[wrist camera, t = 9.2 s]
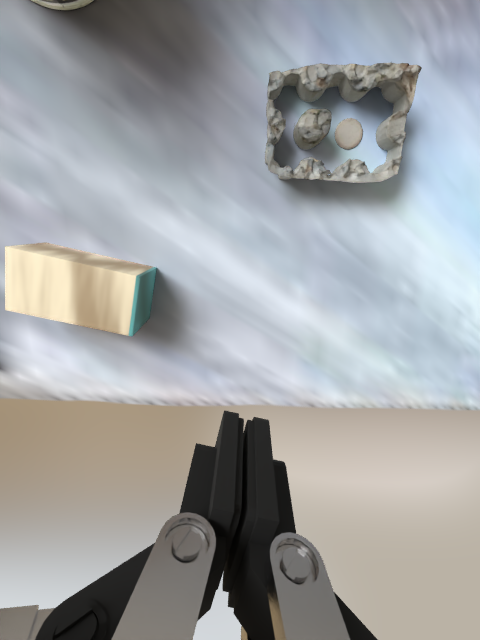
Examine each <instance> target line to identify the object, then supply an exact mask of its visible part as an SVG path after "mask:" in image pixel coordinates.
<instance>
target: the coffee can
mask: <svg viewBox="0 0 480 640" xmlns="http://www.w3.org/2000/svg"><path fill="white" fill-rule="evenodd" d="M31 1H33V2H35V3H38V4H40V5H42V6H45V7H48V8H51V9H57V10H72V9H77V8H81V7H84V6H85V5H88V4H89V3H91V2H92V1H94V0H31Z"/></svg>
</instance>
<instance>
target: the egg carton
mask: <svg viewBox="0 0 480 640" xmlns="http://www.w3.org/2000/svg"><path fill="white" fill-rule="evenodd" d="M420 70H421V67H420V66H418V65H409V64H408V63H401V64H395V63H377V64H374V65H372V66H364V65H357V64H348V65H328V64H316V65H311V66H305V67H301V68H298V69H292V70H288V71H285V72H282V73H281V72H280V71H273V72H271V73H269V75H270V78H269V84H268V92H267V96H268V102H267V107H266V116H267V119H268V127H267V138H268V141H267V143H266V151H265V163H266V164H268V169H269V171H270V172H272V173H275V174H278V177H279V179H291V178H297V179H303V178H305V179H308V180H312V179H320V180H327V181H343V182H352V183H365V182H381V181H384V180H386V179H388V178H390V177H392V176H394V175H396V174H398V170H399V165H400V162H401V158H402V156H401V152H402V146H403V142H404V140H405V137H406V132H404V128H405V122H406V116H407V113H408V112H409V110H410V108H411V105H412V102H413V99H414V94H415V89H416V83H417V79H418V74H419V73H420ZM290 85H291V86H295V87H296V91H297V94H298V96H299V97H300V98H301V100H303V101H305V102H313V101H316V100H317V99H319V98H320V97H321V95H322V94H323V93H324V91H325V90H326V88H330V87H335V86H338V90H339V93H340V95H341V97H342V98H343V99H344V100H345V101H347V102H356V101H358V100H360V99H361V98H362V97H363V96H364V95H365V94H366V93H367V92H368V91H369V90H371V89H372V88H374V87H379V88H381V92H382V95H383V97H384V99H385V100H387V101H388V102H390V103H393V104H394V106H393V113H392V115H391V116H390V117H389V118H387V119H386V120H384V121H383V122H382V123H381V124H380V125H379V126H378V128H377V131H376V141H377V144H378V146H379V147H380V148H382V149H383V150H387V157H386V162H385V163H384V164H383V165H380V166H378V167H377V168H376V169H375V170H374V171H373V173H370V172H369V171H368V169H367V166H366V165H365V162H362V161H360V160H357V159H355V160H350V159H349V160H348V161H347V162H345V163H344V164H342V165H340V166H339V167H337V168H336V169H335V171H334V172H333V173H331V172H330V170H326V169H325V167H324V163H323V162H322V161H320V160H316V159H314V158H312V157H308V158H305V159H303V160H301V162H300V163H299V165H298V166H297V167H296V168H295V170H294V171H293V170H292V168H290V166H285V167H284V168H281V167H280V166H279V164H278V163H277V162H276V161H275V160H274V159H273V157H274V152H275V148H274V146H275V145H276V144H277V143H278V141H279V140H280V138H281V136H282V133H283V131H284V129H285V123H286V119H283V118H282V116H281V112H280V110H278V109H275V107H274V101H273V100H275V99H276V98H277V97H278V96H279V94H280V93H281V90H282V88H283V86H290ZM331 118H332V117H331V112H330V111H329V110H328V109H325V108H324V109H309V110H307V111H306V112H305V113H304V114H303V115H302V116H301V117H300V119H299V120H298V122H297V124H296V126H295V125H294V126H295V129H294V132H293V137H294V141H295V143H296V144H297V146H298V147H299V148H301V149H304V150H309V149H312V148H314V147H315V146H316V145H318V144H319V143H320V142H321V141H322V140H323V139H324V137H325V136H326V135H327V134H328V132H329V129H330V124H331ZM362 135H363V129H362V127H361V124H360V123H359V122H358V121H357V120H356V119H352V118H349V119H348V118H347V119H344V120H343V121H342V122H340V123H339V125H338V126H337V128H336V130H335V140H336V142H337V144H338V145H339V146H340V147H341V148H343V149H352V148H354V147H355V146H357V145H358V144H359V142H360V141H361V139H362ZM328 174H331V175H328Z"/></svg>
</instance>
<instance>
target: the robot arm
mask: <svg viewBox="0 0 480 640" xmlns="http://www.w3.org/2000/svg"><path fill="white" fill-rule="evenodd" d="M243 426H244V420H243V419H242V418H239V414H238V413H233V412H228V411H224V414H223V417H222V421H221V425H220V429H219V433H218V437H217V441H216V445H215V447H211V446H206V445H201V444H197V443H196V446H195V450H194V455H193V459H192V463H191V467H190V471H189V476H188V480H187V484H186V488H185V492H184V497H183V501H182V505H181V509H180V513H179V514H177V515H175V516H173V517H172V518H170V519H169V520H168V521H167V522H166V523H165V525H164V526H163V528H162V529H161V531H160V533H159V535H158V538H157V540H156V542H155V543H154V544H152V545H151V546H149V547H148V548H146V549H145V550H143V551H142V552H140V553H138V554H137V555H136V556H134V557H132V558H131V559H129V560H128V561H126V562H124V563H123V564H121V565H120V566H118V567H116V568H115V569H113V570H112V571H110V572H109V573H107V574H105V575H104V576H102V577H101V578H99V579H98V580H96V581H95V582H93V583H91V584H90V585H88V586H87V587H85V588H84V589H82V590H80V591H79V592H77V593H76V594H74V595H73V596H71V597H69V598H68V599H67V600H65V601H64V602H62V603H61V604H60V605H59V606H58V607H56V608H52V609H42V610H38V605H33V606H23V607H13V608H4V609H0V640H192V639H193V635H194V631H195V627H196V623H197V621H198V620H199V619H200V618H201V617H202V616H203V615H204V614H205V613H206V612H207V611H209V610H210V608H211V605H212V602H213V598H214V595H215V592H216V590H217V589H218V586H219V583H220V580H221V577H222V574H223V591H226V592H229V596H228V607H232V608H234V614H235V616H236V617H237V619H238V620H239V622H240V624H241V625H242V627H241V640H377V639H376V637H374V635H373V634H372V633H371V632H370V631H369V630H368V629H367V628H366V626H365V625H363V623H362V622H361V621H360V620H359V619H358V618H357V617H356V616H355V614H354V613H353V612H352V611H351V610H350V609H349V608H348V607H347V606H346V605H345V603H344V602H343V601H342V600H341V599H340V598H339V597H338V596H337V595H336V594H335V593H334V592H333V589H332V586H331V583H330V580H329V577H328V574H327V571H326V569H325V565H324V563H323V560H322V558H321V556H320V554H319V552H318V551H317V549H316V548H315V547H314V545H313V544H312V543H311V542H309V541H308V540H307V539H306V538H304V537H302V536H300V535H298V534H296V530H295V523H294V517H293V511H292V504H291V497H290V490H289V484H288V477H287V471H286V466H285V463H284V462H282V461H277V460H273V456H272V446H271V437H270V426H269V421H268V420H266V419H261V418H256V417H254V418H253V420H252V421H251V420H247V423H246V427H245V430H244V433H243ZM223 570H224V573H223Z"/></svg>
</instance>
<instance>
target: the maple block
mask: <svg viewBox="0 0 480 640" xmlns="http://www.w3.org/2000/svg"><path fill="white" fill-rule="evenodd" d="M156 270H157V268H156V267H151V266H147V265H142V264H138V263H134V262H129V261H125V260H120V259H116V258H112V257H107V256H103V255H98V254H94V253H90V252H85V251H81V250H76V249H72V248H68V247H63V246H59V245H54V244H50V243H37V244H26V245H16V246H5V310H8V311H13V312H18V313H22V314H27V315H32V316H37V317H41V318H46V319H51V320H56V321H61V322H65V323H70V324H75V325H80V326H85V327H89V328H94V329H99V330H104V331H108V332H113V333H118V334H123V335H128V336H133V335H134V334H135V333H136V332H137V331H138V330H139V329H140V328H141V327H142V326H143V325H144V323H145V322H146V321H147V320H148V319H149V318H150V311H151V304H152V297H153V291H154V284H155V277H156Z"/></svg>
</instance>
